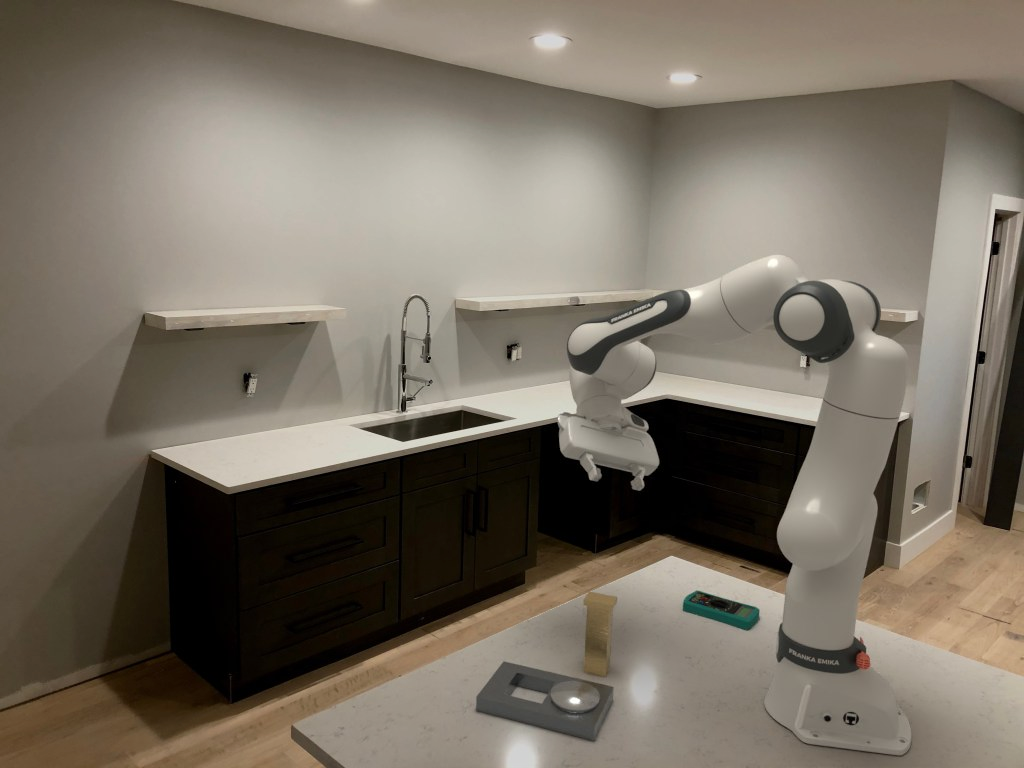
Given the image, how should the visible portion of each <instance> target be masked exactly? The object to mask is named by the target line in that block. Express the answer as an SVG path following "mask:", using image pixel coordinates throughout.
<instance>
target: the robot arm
mask: <svg viewBox="0 0 1024 768" xmlns="http://www.w3.org/2000/svg"><path fill="white" fill-rule="evenodd" d="M881 317H882V308H881V305H880V302H879V300H878V298H877V295H876V294H874V292H873V291H872V290H871V289H870V288H868V287H866V286H865V285H864V284H863V285H862V284H860V283H858V282H856V281H852V280H841V279H835V278H834V279H833V278H826V279H818V280H809V279H808V278H807V277H806V276H805V274H804V272H803V270H802V269H801V267H800V266H799V265H798V263H796V261H794V260H793V259H792V258H791V257H788V256H787V255H784V254H771V255H768V256H764V257H761V258H758V259H756V260H753V261H751V262H749V263H746V264H744V265H743V264H742V265H741V266H739V267H737V268H735V269H733V270H731V271H729V272H727V273H725V274H723V275H721V276H719V277H718V278H716V279H713V280H711V281H708V282H705V283H703V284H700V285H696V286H693V287H687V288H683V289H675V290H669V291H665V292H662V293H660V294H657V295H655V296H652V297H650V298H648V299H645V300H643V301H640V302H637V303H636V304H635V303H634V304H632V305H630V306H629V307H626V308H624V309H620V310H619V311H617V312H614V313H612V314H609V315H607V316H602V317H593V318H590V319H588V320H585V321H583V322H581V323H580V324H578V325H577V326H576V327H575V328H573V330H572V332H571V333H570V334H569V336H568V339H567V342H566V353H567V358H568V361H569V364H570V365H569V372H568V373H569V386H570V390H571V396H572V399H573V401H574V403H575V404H576V414H573V413H570V412H566V411H564V412H563V413H560V414H558V416H557V417H556V418H557V419H556V420H557V425H558V428H559V431H558V438H559V448H560V449H559V450H560V452H561V454H562V455H563V456H564V457H565V458H568V459H571V460H577V461H579V464H580V465H581V466H582V467H583V469H584V470H585V471H586V472H587V475H588V478H589V480H590V481H593V482H598V481H599V480H601V479H602V473H601V468H599V467H597V466H601V467H602V466H603V467H607V468H612V469H616V470H621V471H624V472H629V473H631V474H632V476H634V479H633V480H631V481H630V485H631V489H632V490H635V491H642V490H643V489H644V488H645V481H644V480H643V479H644V477H645V476H650V475H651V474H652V473H653V472H655V471H656V469H658V468H659V467H658V466H659V465H660V458H659V455H658V451H657V448H656V445H655V442H654V440H653V438H652V437H651V435H650V434H649V433H648V432H647V431H649V424H648V422H647V420H645V419H643V418H641V417H639V416H638V415H636V414H634V413H633V412H631V410H629V409H628V408H626V407H624V406H623V404H622V400H623V401H624V400H627V399H629V398H632V396H634V395H636V394H637V393H639V392H641V391H642V390H644V389H645V388H647V387H648V386H649V385H650V384H651V383H652V381H653V379H654V378H655V375H656V372H657V357H656V354H655V352H654V350H653V349H652V348H650V347H649V346H647V345H645V344H644V343H641V341H640V340H643V339H646V338H648V337H651V336H654V335H660V334H669V335H677V336H681V337H687V338H690V339H693V340H696V341H700V342H704V343H707V344H711V345H717V346H719V345H720V346H721V345H727V344H731V343H735V342H739V341H742V340H743V339H746V338H749V336H752V335H754V334H756V333H759V332H760V331H762V330H764V329H766V328H768V327H770V326H774V329H775V331H776V333H777V335H778V336H779V337H780V339H781V340H782V341H783V342H784V343H785V344H787V345H788V346H790V347H792V348H794V349H795V350H797V351H799V352H801V353H802V354H804V355H806V356H808V357H809V358H810V359H812V360H814V361H815V362H816V363H818V364H825V363H827V366H828V372H829V373H828V378H827V379H828V380H827V384H826V388H825V390H824V393H823V399H822V402H821V406H820V408H819V409H820V410H819V414H818V417H817V421H816V423H815V429H814V432H813V435H812V439H811V443H810V445H809V449H808V451H807V454H806V457H805V459H804V461H803V463H802V466H801V468H800V470H799V472H798V475H797V479H796V481H795V483H794V485H793V489H792V491H791V494H790V497H789V499H788V502H787V505H786V508H785V509H784V513H783V515H782V516H781V519H780V521H779V524H778V526H777V529H776V530H777V531H776V540H777V545H778V546H779V550H780V551H781V552H782V554H783V555H784V557H785V558H786V560H787V561H789V562H790V563H792V566H791V569H790V572H789V574H788V577H787V580H786V584H785V591H784V602H783V611H782V612H783V613H782V621H781V623H780V624H779V628H778V631H777V637H776V644H775V645H776V646H775V655H776V656H775V657H776V663H775V664H776V665H775V668H774V672H773V675H772V679H771V683H770V685H769V688H768V691H767V693H766V694H765V696H764V699H763V704H764V707H765V709H766V711H767V713H768V714H769V715H770V716H771V718H773V719H774V720H775V721H776V722H778V723H779V724H781V725H782V726H783V727H786V728H787V729H789V730H790V731H792V733H793V734H794V735H795V736H796V737H797V738H798V739H799V740H800V741H801V742H803V743H804V744H805V743H806V744H808V745H816V746H823V747H832V748H838V749H845V750H846V749H848V750H855V751H862V752H870V753H876V754H877V753H879V754H885V755H892V756H903V755H905V754H906V753H907V752H908V751H909V750H910V748H911V746H912V745H911V744H912V729H911V723H910V722H909V721H910V720H909V719H908V717H907V715H906V714H905V713H904V711H903V710H902V709H901V708H900V707H899V706H898V701H897V698H896V697H897V696H896V695H895V692H894V690H893V688H892V686H891V683H890V682H889V681H888V679H886V678H885V677H883V676H882V675H881V674H880V673H879V672H878V671H877V670H875V669H874V668H873V667H872V666H871V658H870V655H868V654H867V646H866V645H865V643H864V640H863V638H862V636H860V637H859V639H858V638H857V637H856V636H855V633H856V632H855V631H856V624H857V615H858V608H859V607H858V605H859V600H860V593H861V588H862V584H863V582H864V581H863V580H864V578H865V577H864V576H865V572H866V568H867V566H868V561H869V556H870V550H871V547H872V542H873V537H874V531H875V527H876V521H877V517H878V509H879V508H878V501H877V498H876V496H875V494H874V492H875V490H876V488H877V485H878V482H879V480H880V479H881V476H882V473H883V471H884V469H885V468H886V464H887V461H888V457H889V454H890V450H891V449H892V448H891V447H892V443H893V441H894V437H895V433H896V431H897V427H898V423H899V420H900V417H901V413H902V408H903V405H904V401H905V395H906V391H907V390H906V389H907V382H908V374H909V355H908V353H907V351H906V350H905V348H904V347H903V346H902V345H901V344H899V342H897V341H895V340H894V339H891V338H890V337H886V336H883V335H880V334H879V335H878V334H877V333H875V331H876V330H877V329H878V326H879V324H880V321H881ZM596 465H597V466H596Z"/></svg>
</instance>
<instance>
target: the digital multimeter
mask: <svg viewBox="0 0 1024 768" xmlns="http://www.w3.org/2000/svg"><path fill="white" fill-rule="evenodd" d="M682 611H684V612H686V613H690V614H693V615H696V614H697V615H698V616H701V617H704V618H707V619H710V620H713V621H717V622H720V623H723V624H726V625H730V626H733V627H735V628H739V629H742V630H745V631H748V630H750V629H751V628H753V627H754V626H755V624H756V623H757V622H758V621H759V618H760V611H761V610H760V608H758V607H757V606H753V605H750V604H745V603H742V602H739V601H735V600H730V599H728V598H724V597H721V596H717V595H715V594H711V593H708V592H704V591H702V590H694V591H693V592H692V593H689V594H687V595H686V596H685V597H684V599H683V602H682Z"/></svg>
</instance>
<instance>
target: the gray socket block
mask: <svg viewBox="0 0 1024 768" xmlns="http://www.w3.org/2000/svg"><path fill="white" fill-rule="evenodd" d="M516 687H521V688H524V689H528V690H534V691H538V692H540V693H546V694H547V695H546V696H545V698H544V699H543V701H542V703H541V702H537V701H534V700H529V699H525V698H520V697H517V696H513V695H512V693H513V692H514V690H515V689H516ZM614 687H615V686H611V685H607V684H603V683H599V682H595V681H589V680H586V679H581V678H577V677H574V676H567V675H564V674H560V673H556V672H552V671H547V670H543V669H539V668H534V667H529V666H525V665H522V664H516V663H514V662H507V661H504V660H503V662H502V663H501V664H500V665H499V666H498V667H497V669H496V670H495V672H494V673H493V674H492V676H491V677H490V678H489V680H488V681H487V682H486V683H485V685H484V686H483V687H482V689H480V691H479V692H478V693H477V695H476V697H475V699H476V700H475V701H476V703H475V704H476V705H475V706H476V707H475V711H476V712H480V713H484V714H488V715H491V716H495V717H499V718H504V719H507V720H511V721H515V722H519V723H523V724H526V725H530V726H534V727H538V728H543V729H546V730H550V731H553V732H554V731H555V732H556V733H557V732H558V733H561V734H566V735H569V736H573V737H577V738H581V739H585V740H588V741H593V742H595V740H596V738H597V735H598V733H599V731H600V729H601V726H602V724H603V722H604V721H605V718H606V716H607V715H608V712H609V710H610V707H611V705H612V703H613V701H614V691H615V690H614ZM512 691H513V692H512Z"/></svg>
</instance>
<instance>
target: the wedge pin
mask: <svg viewBox="0 0 1024 768" xmlns="http://www.w3.org/2000/svg"><path fill="white" fill-rule="evenodd" d="M617 603H618V596H614V595H610V594H604V593H600V592H599V593H598V592H593V591H588V593H587V594H586V595H585V597H584V598H583V602H582V604H583V606H586V618H585V619H586V620H585V622H586V623H585V637H584V639H585V641H584V642H585V643H584V657H583V658H584V659H583V660H584V661H583V662H584V663H583V673H586V674H590V675H595V676H600V677H603V678H606V677H607V675H608V673H609V671H610V667H611V652H612V651H611V650H612V649H611V648H612V634H613V633H612V630H613V616H614V615H613V614H614V613H613V611H614V608H615V606H616V605H617Z"/></svg>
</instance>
